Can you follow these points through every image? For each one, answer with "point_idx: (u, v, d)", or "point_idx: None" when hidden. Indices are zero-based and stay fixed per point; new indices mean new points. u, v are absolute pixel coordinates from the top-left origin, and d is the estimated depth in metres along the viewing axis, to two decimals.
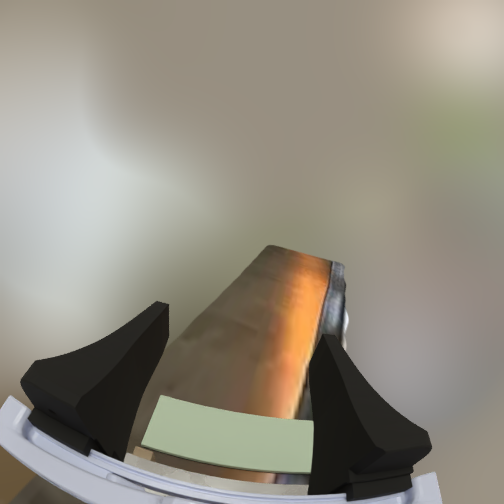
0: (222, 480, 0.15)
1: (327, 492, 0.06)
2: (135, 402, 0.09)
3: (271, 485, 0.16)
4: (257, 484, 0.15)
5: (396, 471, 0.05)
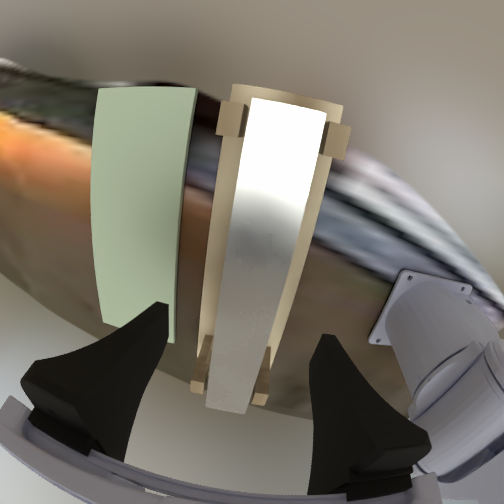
0: (217, 337, 0.15)
1: (327, 492, 0.06)
2: (135, 402, 0.09)
3: (224, 279, 0.13)
4: (222, 298, 0.14)
5: (396, 471, 0.05)
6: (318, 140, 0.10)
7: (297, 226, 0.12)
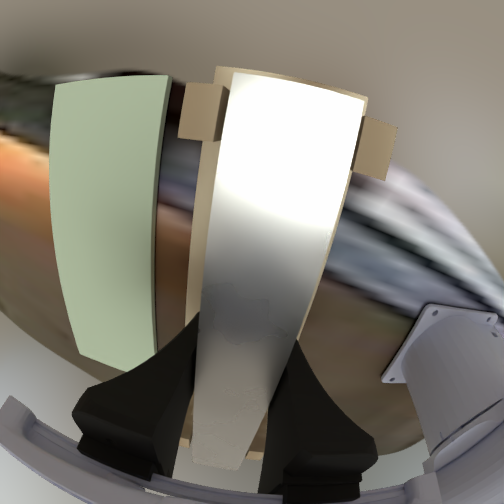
0: (198, 410, 0.10)
1: (269, 492, 0.06)
2: (183, 416, 0.09)
3: (200, 354, 0.09)
4: (199, 373, 0.09)
5: (340, 478, 0.05)
6: (350, 147, 0.06)
7: (308, 289, 0.07)
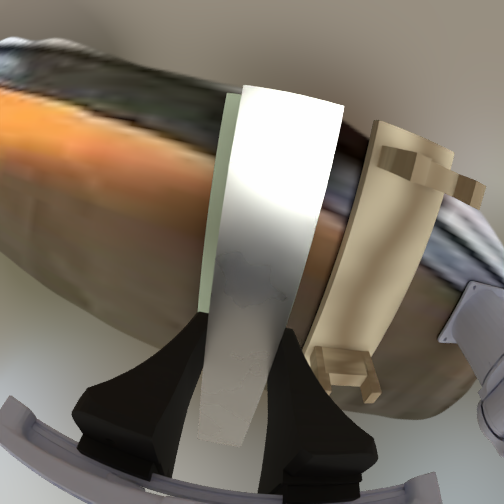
0: (206, 377, 0.12)
1: (269, 492, 0.06)
2: (183, 416, 0.09)
3: (211, 317, 0.10)
4: (210, 337, 0.11)
5: (340, 478, 0.05)
6: (333, 142, 0.07)
7: (303, 256, 0.09)
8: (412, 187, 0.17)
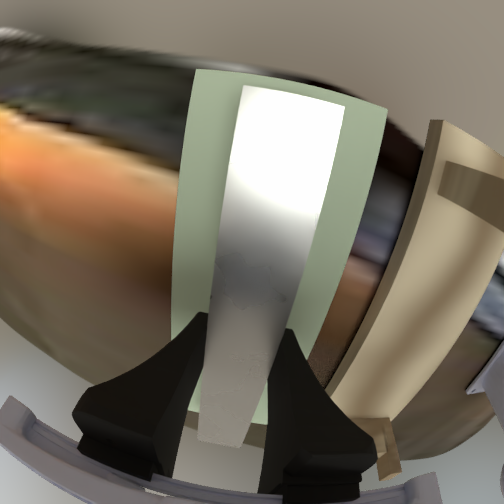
0: (206, 378, 0.12)
1: (269, 492, 0.06)
2: (183, 416, 0.09)
3: (211, 319, 0.10)
4: (209, 339, 0.11)
5: (340, 478, 0.05)
6: (333, 143, 0.07)
7: (303, 258, 0.09)
8: (477, 224, 0.10)
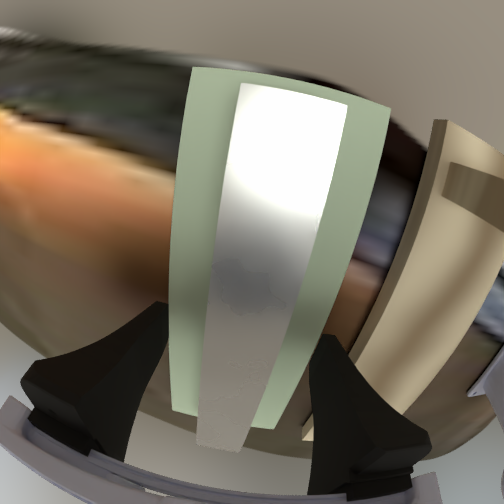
0: (204, 384, 0.12)
1: (327, 492, 0.06)
2: (135, 402, 0.09)
3: (208, 325, 0.10)
4: (207, 345, 0.11)
5: (396, 471, 0.05)
6: (336, 144, 0.07)
7: (303, 263, 0.09)
8: (481, 227, 0.10)
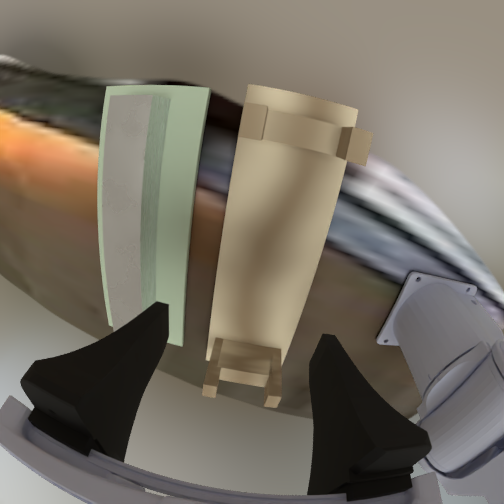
0: (107, 270, 0.18)
1: (327, 492, 0.06)
2: (135, 402, 0.09)
3: (104, 221, 0.16)
4: (105, 236, 0.17)
5: (396, 471, 0.05)
6: (148, 114, 0.13)
7: (140, 177, 0.15)
8: (298, 154, 0.16)
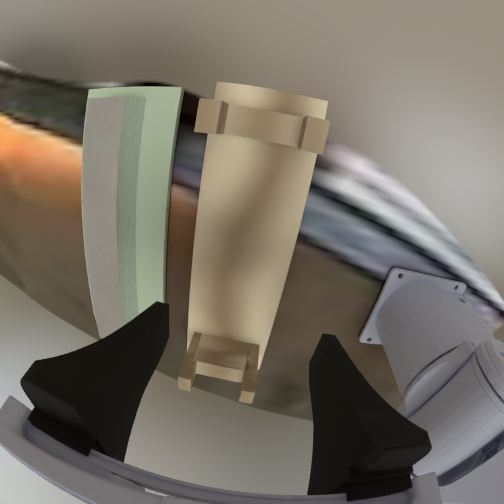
0: (89, 264, 0.18)
1: (327, 492, 0.06)
2: (135, 402, 0.09)
3: (84, 217, 0.17)
4: (85, 231, 0.17)
5: (396, 471, 0.05)
6: (121, 115, 0.14)
7: (115, 174, 0.15)
8: (266, 148, 0.16)
